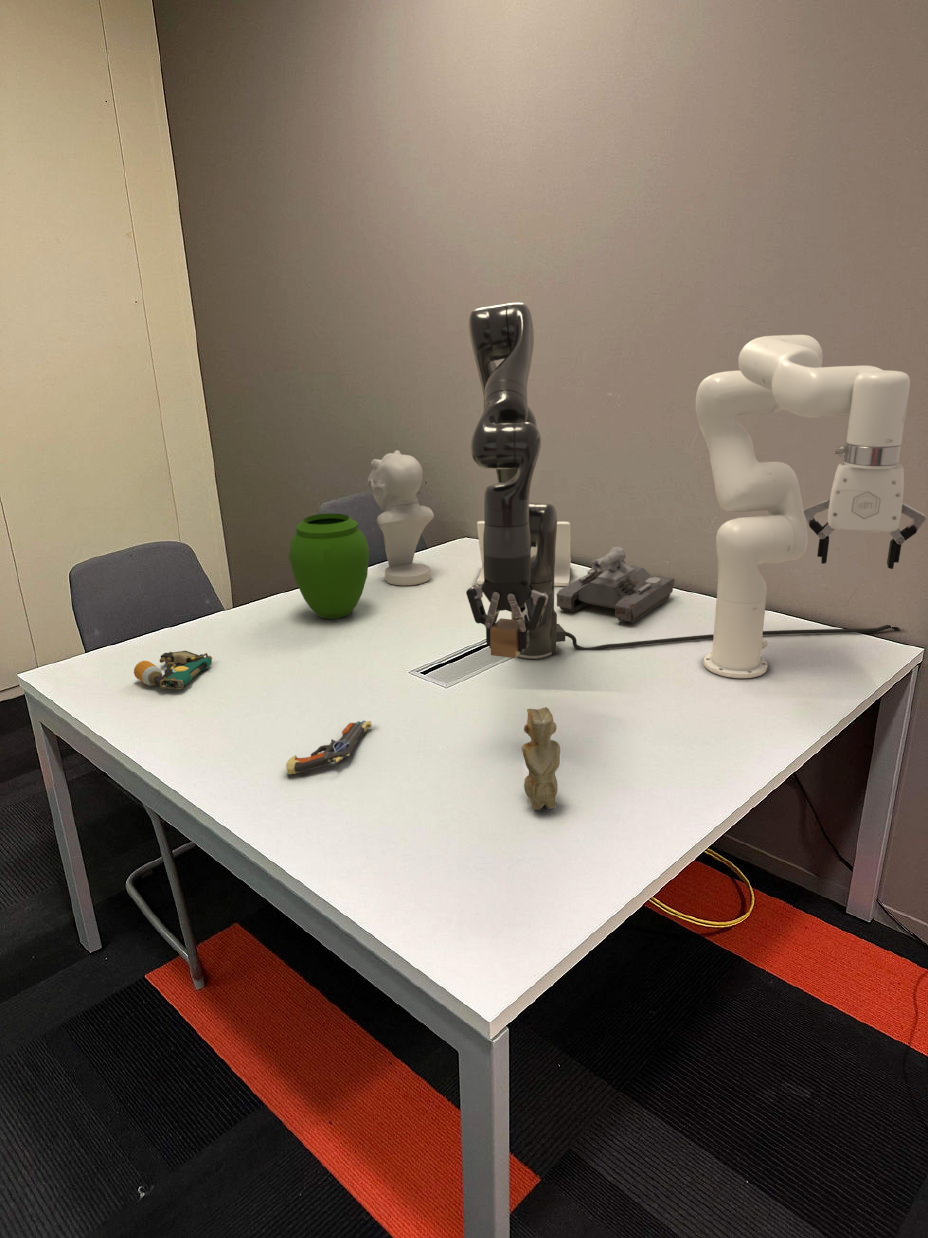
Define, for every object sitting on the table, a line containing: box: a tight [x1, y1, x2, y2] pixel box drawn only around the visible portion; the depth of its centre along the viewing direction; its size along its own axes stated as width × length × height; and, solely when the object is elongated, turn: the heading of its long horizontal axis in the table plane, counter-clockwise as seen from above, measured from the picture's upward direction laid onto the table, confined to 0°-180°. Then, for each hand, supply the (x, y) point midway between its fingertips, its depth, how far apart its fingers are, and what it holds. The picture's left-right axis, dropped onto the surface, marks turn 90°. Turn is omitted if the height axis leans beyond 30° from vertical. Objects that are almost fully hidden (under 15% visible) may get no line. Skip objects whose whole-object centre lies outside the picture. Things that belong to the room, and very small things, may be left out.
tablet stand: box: [476, 520, 572, 587], centre depth 236 cm, size 18×25×17 cm
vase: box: [288, 512, 370, 620], centre depth 209 cm, size 20×20×24 cm
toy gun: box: [285, 720, 373, 775], centre depth 148 cm, size 3×19×10 cm
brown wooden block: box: [490, 617, 520, 659], centre depth 141 cm, size 5×4×5 cm
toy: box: [556, 546, 676, 624], centre depth 212 cm, size 25×20×15 cm
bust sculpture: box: [366, 449, 435, 586], centre depth 237 cm, size 16×24×35 cm
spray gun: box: [133, 650, 213, 690], centre depth 180 cm, size 4×17×15 cm
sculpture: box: [521, 706, 561, 811], centre depth 129 cm, size 6×7×15 cm
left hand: (507, 648), depth 142 cm, fingers closed on brown wooden block, 4 cm apart
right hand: (856, 563), depth 135 cm, fingers open, 9 cm apart
